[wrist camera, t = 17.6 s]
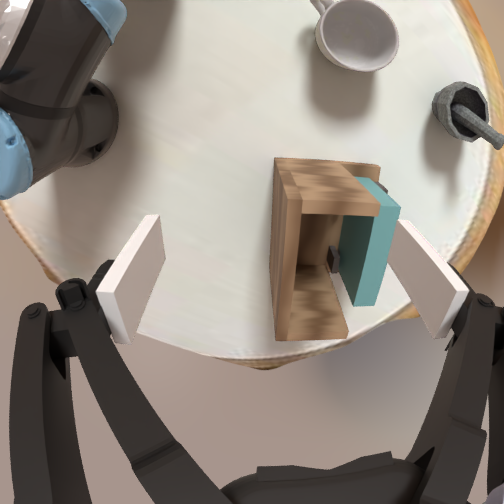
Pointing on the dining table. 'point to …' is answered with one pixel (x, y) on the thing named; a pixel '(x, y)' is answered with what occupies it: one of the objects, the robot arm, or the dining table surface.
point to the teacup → (356, 34)
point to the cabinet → (312, 242)
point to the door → (367, 247)
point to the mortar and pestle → (465, 113)
